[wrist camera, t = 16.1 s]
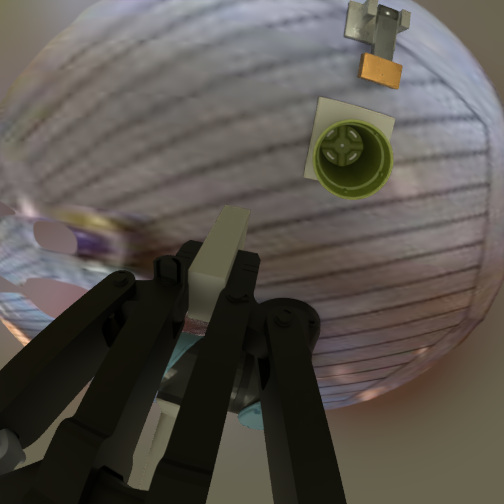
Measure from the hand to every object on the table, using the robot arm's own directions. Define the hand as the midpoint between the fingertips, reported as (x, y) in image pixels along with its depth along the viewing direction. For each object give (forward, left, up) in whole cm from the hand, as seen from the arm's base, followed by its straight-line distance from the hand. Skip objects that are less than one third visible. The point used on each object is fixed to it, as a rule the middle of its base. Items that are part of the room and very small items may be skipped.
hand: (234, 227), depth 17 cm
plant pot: (+2, -10, -24) cm, 26 cm away
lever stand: (+21, -11, -26) cm, 35 cm away
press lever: (+17, -11, -18) cm, 27 cm away
